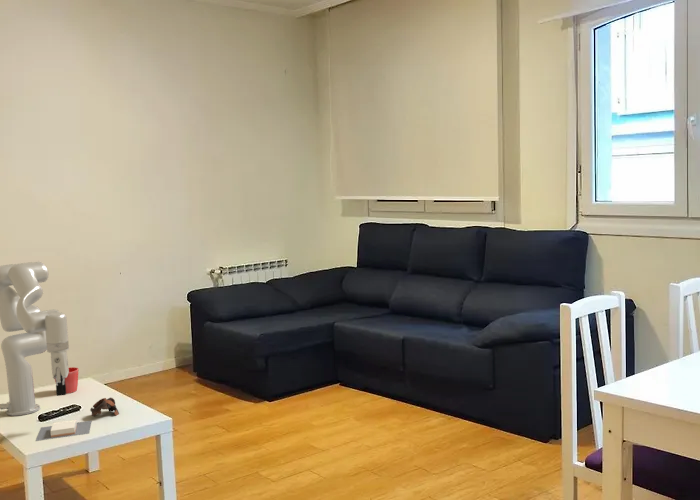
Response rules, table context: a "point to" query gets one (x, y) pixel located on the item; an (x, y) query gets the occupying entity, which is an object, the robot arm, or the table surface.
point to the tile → (63, 428)
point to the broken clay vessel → (104, 406)
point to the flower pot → (71, 380)
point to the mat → (80, 430)
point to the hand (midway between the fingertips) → (61, 394)
